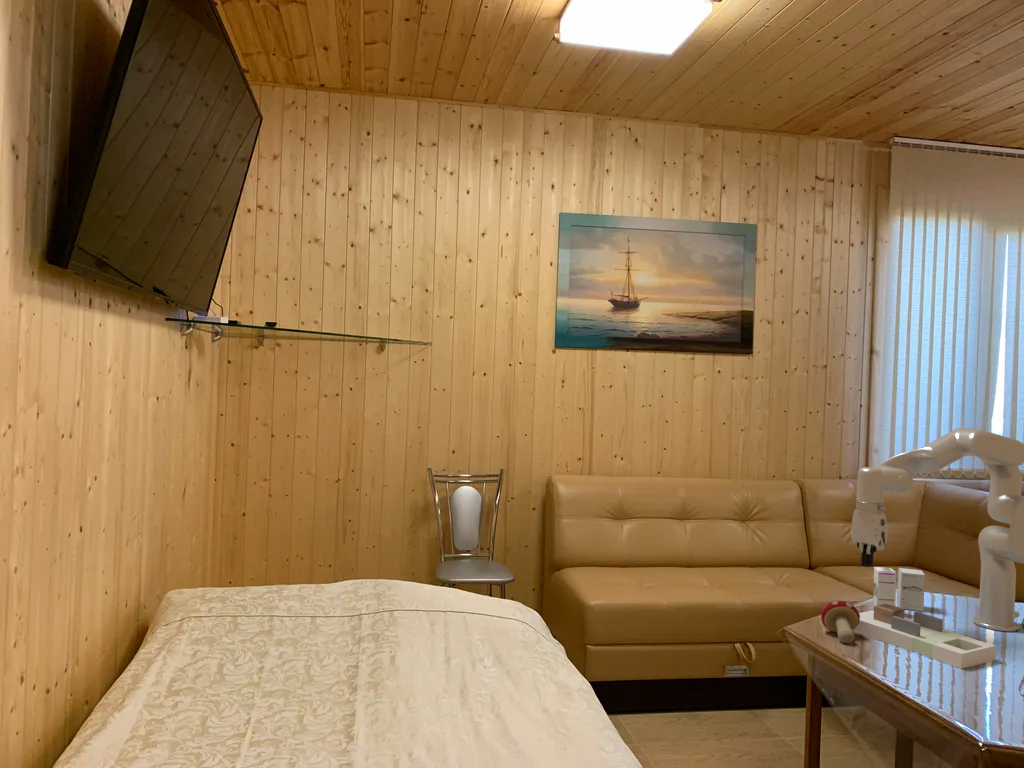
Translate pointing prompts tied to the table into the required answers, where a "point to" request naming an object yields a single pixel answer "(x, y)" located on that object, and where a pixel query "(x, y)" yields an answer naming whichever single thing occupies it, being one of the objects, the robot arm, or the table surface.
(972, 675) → the table surface
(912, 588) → the supplement box
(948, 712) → the table surface
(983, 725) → the table surface
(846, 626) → the decorative mushroom
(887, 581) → the syrup box
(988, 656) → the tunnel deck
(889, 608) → the walnut block
